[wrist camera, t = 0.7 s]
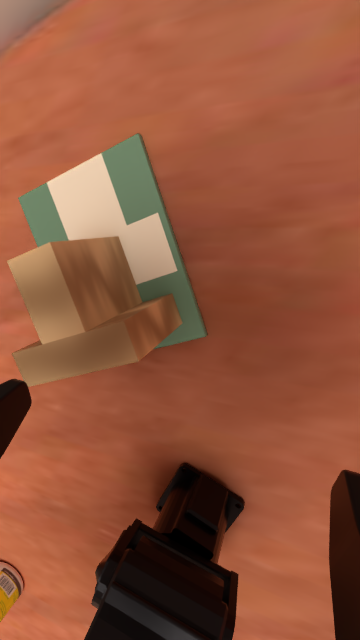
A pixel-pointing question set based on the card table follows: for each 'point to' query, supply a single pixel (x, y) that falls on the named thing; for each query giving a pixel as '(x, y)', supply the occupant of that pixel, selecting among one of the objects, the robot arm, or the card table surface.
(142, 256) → the board
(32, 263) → the oak t block
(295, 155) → the card table surface
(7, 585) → the supplement bottle
